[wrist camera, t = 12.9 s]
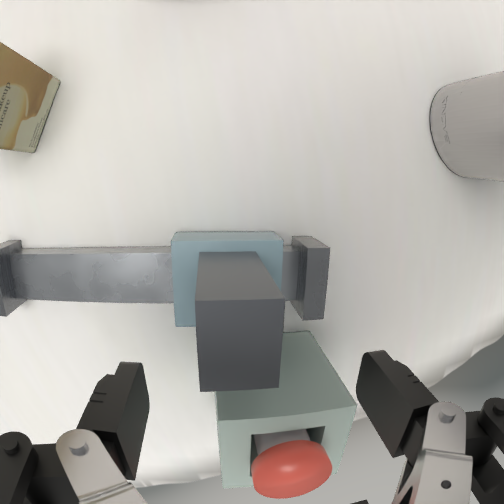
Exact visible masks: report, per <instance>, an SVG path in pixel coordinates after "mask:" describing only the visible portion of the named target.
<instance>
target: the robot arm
mask: <svg viewBox="0 0 504 504" xmlns="http://www.w3.org/2000/svg"><path fill="white" fill-rule="evenodd" d="M430 123H431V132H432V136H433V140H434V143H435V146H436V148H437V151H438V153H439V155H440V157H441V158H442V160H443V162H444V163H445V164H446V165H447V167H448V168H449V169H450V170H452V171H453V172H454V173H455V174H457V175H459V176H461V177H467V178H477V179H487V180H495V181H504V71H502V72H498V73H493V74H489V75H485V76H481V77H476V78H472V79H468V80H464V81H460V82H457V83H453V84H449V85H446V86H444V87H443V88H441V89H440V90H439V91H438V93H437V94H436V96H435V98H434V100H433V102H432V107H431V116H430ZM356 395H357V398H358V401H359V402H360V404H361V406H362V407H363V409H364V411H365V412H366V414H367V416H368V417H369V419H370V421H371V422H372V424H373V425H374V427H375V429H376V431H377V432H378V434H379V436H380V437H381V439H382V441H383V442H384V444H385V446H386V447H387V449H388V450H389V452H390V454H391V456H392V457H393V458H394V457H398V456H401V455H404V454H405V456H406V457H407V459H406V461H405V463H404V466H403V470H402V473H401V476H400V480H399V483H398V487H397V490H396V493H395V496H394V499H393V502H392V504H469V502H470V492H471V491H472V492H473V494H474V495H475V497H476V498H477V500H478V501H479V503H480V504H504V469H503V468H502V467H501V465H500V464H499V463H498V461H497V460H496V459H495V457H494V456H493V455H492V454H493V452H494V451H495V449H496V447H497V446H498V447H499V449H500V450H501V451H502V452H503V454H504V399H501V398H490V399H488V400H487V401H486V402H485V403H484V405H483V407H482V409H481V411H474V412H464V410H463V409H462V408H461V407H460V406H458V405H456V404H454V403H451V402H445V401H444V402H439V401H438V400H437V399H436V398H435V397H434V396H433V395H432V393H431V392H430V391H429V390H428V389H427V388H426V387H425V386H424V384H423V383H422V382H420V380H419V379H418V378H417V377H416V376H414V373H413V372H412V371H411V370H410V369H409V368H408V367H407V366H405V365H404V364H402V363H400V362H398V361H394V360H393V359H392V358H391V357H390V356H389V355H388V353H387V352H386V351H384V350H380V351H373V352H366V353H364V355H363V357H362V361H361V366H360V371H359V375H358V380H357V384H356ZM148 414H149V395H148V390H147V385H146V380H145V375H144V369H143V365H142V363H137V362H120V364H119V366H118V368H117V370H116V373H115V375H109V374H107V375H106V376H105V377H103V378H102V379H101V380H100V381H99V382H98V383H97V385H96V387H95V389H94V391H93V394H92V395H91V397H90V402H88V404H87V406H86V408H85V410H84V413H83V415H82V417H81V419H80V421H79V424H78V426H77V428H76V429H74V430H70V431H68V432H66V433H64V434H63V435H61V436H60V438H59V439H58V440H57V443H55V444H36V445H32V443H31V441H30V439H29V438H28V437H27V436H26V435H25V434H23V433H20V432H8V433H5V434H3V435H1V436H0V504H147V502H146V501H145V500H144V499H143V498H142V496H141V495H140V493H139V492H138V491H137V489H136V488H135V487H134V486H133V484H132V483H128V482H127V480H135V478H136V472H137V467H138V462H139V457H140V452H141V447H142V442H143V437H144V433H145V428H146V423H147V419H148ZM126 479H127V480H126ZM352 504H368V502H367V500H363V501H359V502H356V503H352Z"/></svg>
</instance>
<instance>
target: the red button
mask: <svg viewBox="0 0 504 504" xmlns="http://www.w3.org/2000/svg"><path fill="white" fill-rule="evenodd" d="M254 439H255V444H256V448H257V453H258V456H257V457H256V458H255V460H254V461H253V463H252V465H251V474H252V479H253V484H254V488H255V490H256V491H257V492H258V493H259V494H261V495H263V496H266V497H270V498H291V497H296V496H300V495H303V494H306V493H308V492H310V491H312V490H314V489H316V488H318V487H319V486H321V485H322V484H323V483H324V482H325V481H326V480H327V479H328V478H329V476H330V475H331V473H332V464H331V461H330V459H329V457H328V455H327V452H326V450H325V448H324V447H323V446H322V445H320V444H319V443H317V442H314V441H311V440H310V438H309V435H308V433H307V430H306V429H300V430H292V431H284V432H275V433H265V434H254Z"/></svg>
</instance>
